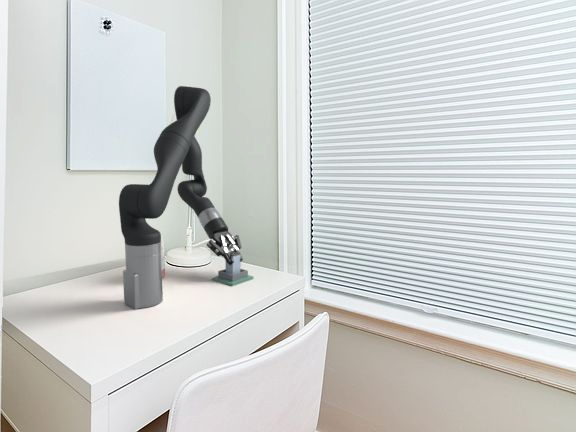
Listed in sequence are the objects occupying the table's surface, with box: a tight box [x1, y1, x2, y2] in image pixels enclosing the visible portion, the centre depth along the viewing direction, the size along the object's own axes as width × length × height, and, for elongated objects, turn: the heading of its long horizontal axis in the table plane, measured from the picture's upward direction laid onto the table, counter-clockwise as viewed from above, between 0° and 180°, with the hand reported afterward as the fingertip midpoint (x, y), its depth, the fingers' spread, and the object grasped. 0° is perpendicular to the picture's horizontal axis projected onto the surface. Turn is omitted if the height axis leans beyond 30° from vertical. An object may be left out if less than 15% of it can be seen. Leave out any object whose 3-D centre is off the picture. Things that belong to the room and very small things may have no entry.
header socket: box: [211, 268, 254, 287], centre depth 115 cm, size 10×10×3 cm
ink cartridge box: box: [161, 235, 166, 279], centre depth 112 cm, size 9×5×15 cm, turn 179°
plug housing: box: [225, 251, 241, 275], centre depth 115 cm, size 4×4×7 cm
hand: (236, 262), depth 114 cm, fingers closed on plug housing, 3 cm apart
